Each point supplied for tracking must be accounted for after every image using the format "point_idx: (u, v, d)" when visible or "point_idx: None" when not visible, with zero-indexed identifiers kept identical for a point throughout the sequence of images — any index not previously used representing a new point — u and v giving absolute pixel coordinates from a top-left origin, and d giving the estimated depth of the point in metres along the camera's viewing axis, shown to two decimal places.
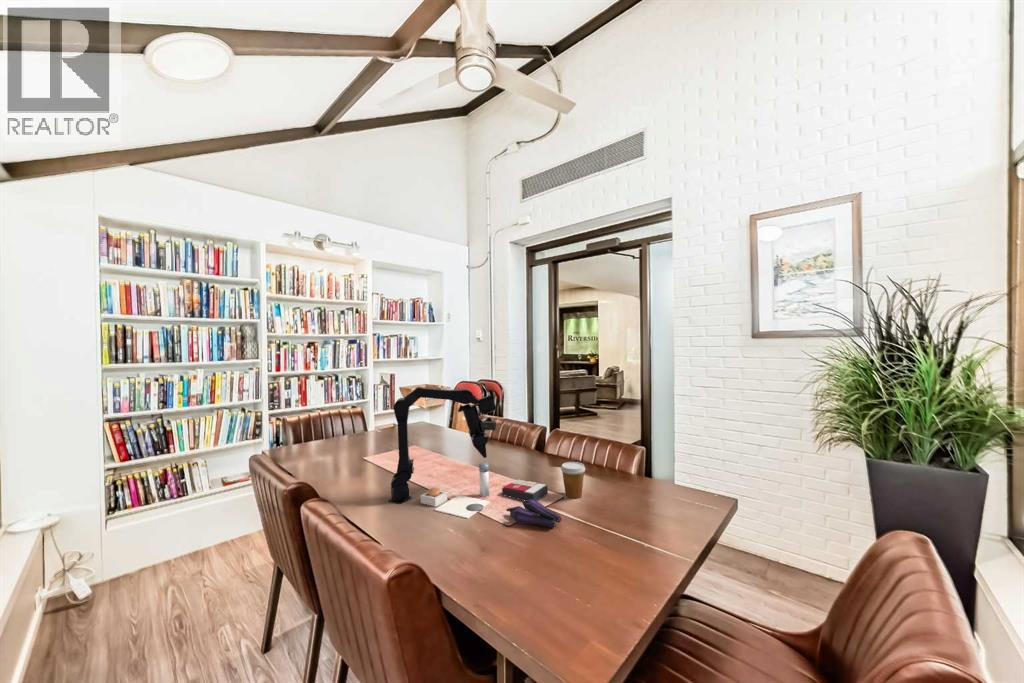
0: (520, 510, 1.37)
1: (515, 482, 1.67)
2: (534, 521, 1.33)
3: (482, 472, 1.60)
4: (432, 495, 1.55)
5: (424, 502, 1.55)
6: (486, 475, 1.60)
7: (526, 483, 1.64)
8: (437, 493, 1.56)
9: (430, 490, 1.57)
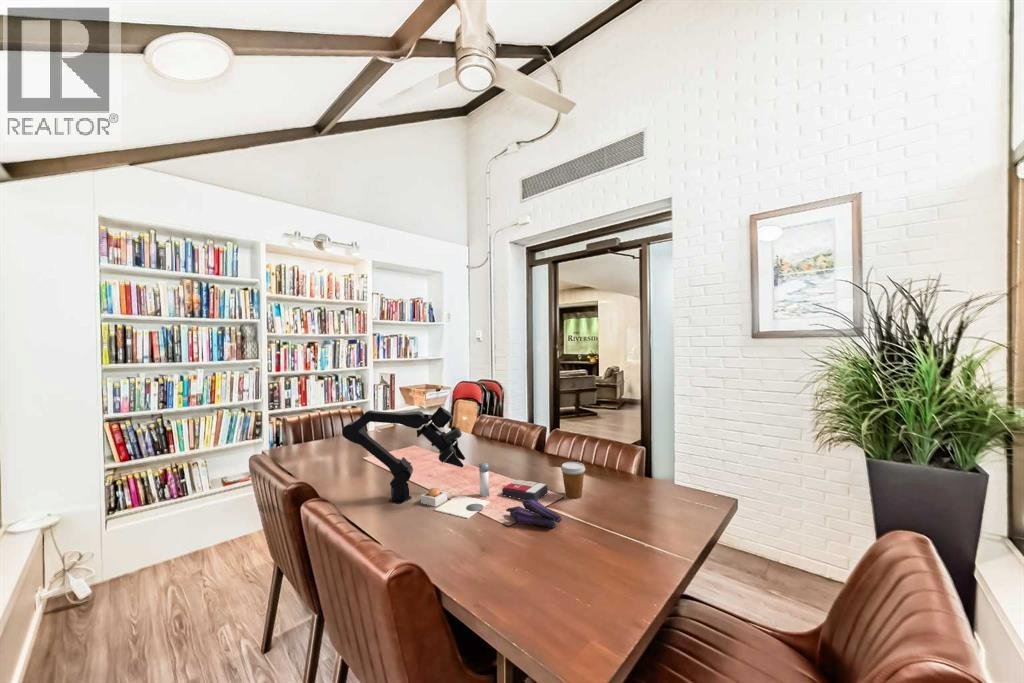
0: (520, 510, 1.37)
1: (515, 482, 1.66)
2: (534, 521, 1.33)
3: (482, 472, 1.60)
4: (432, 495, 1.55)
5: (424, 502, 1.55)
6: (486, 475, 1.60)
7: (526, 483, 1.65)
8: (437, 493, 1.56)
9: (430, 490, 1.57)
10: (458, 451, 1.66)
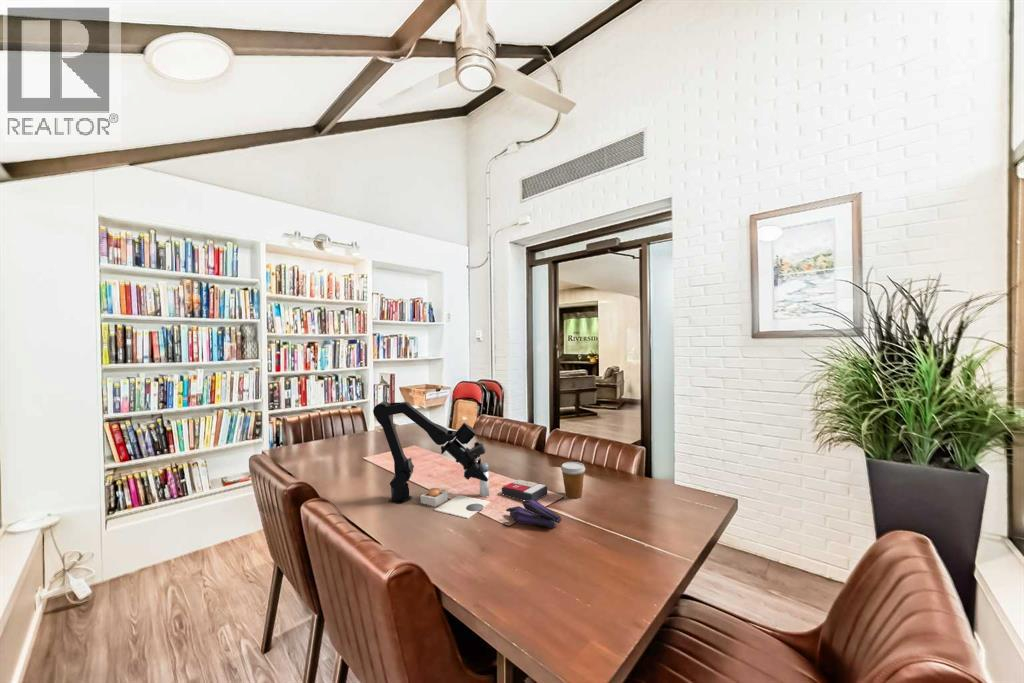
0: (520, 510, 1.37)
1: (515, 482, 1.67)
2: (534, 521, 1.33)
3: None
4: (432, 495, 1.55)
5: (424, 502, 1.55)
6: (486, 475, 1.60)
7: (526, 483, 1.64)
8: (437, 493, 1.56)
9: (430, 490, 1.57)
10: None
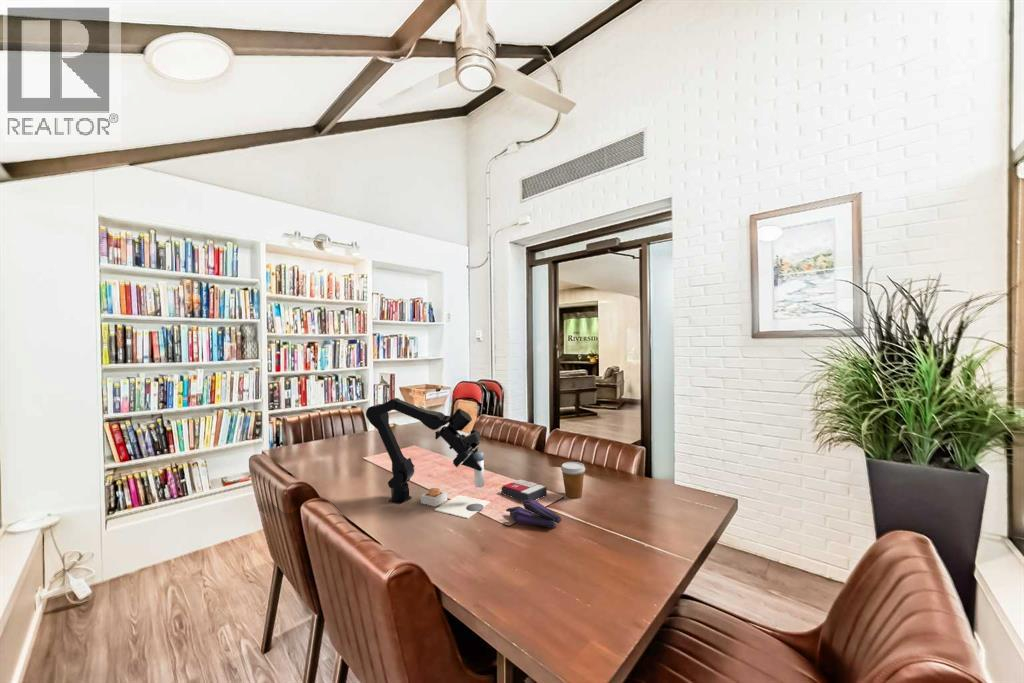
0: (520, 510, 1.37)
1: (516, 482, 1.67)
2: (534, 521, 1.33)
3: None
4: (432, 495, 1.55)
5: (424, 502, 1.55)
6: (480, 464, 1.52)
7: (526, 483, 1.64)
8: (437, 493, 1.56)
9: (430, 490, 1.57)
10: None
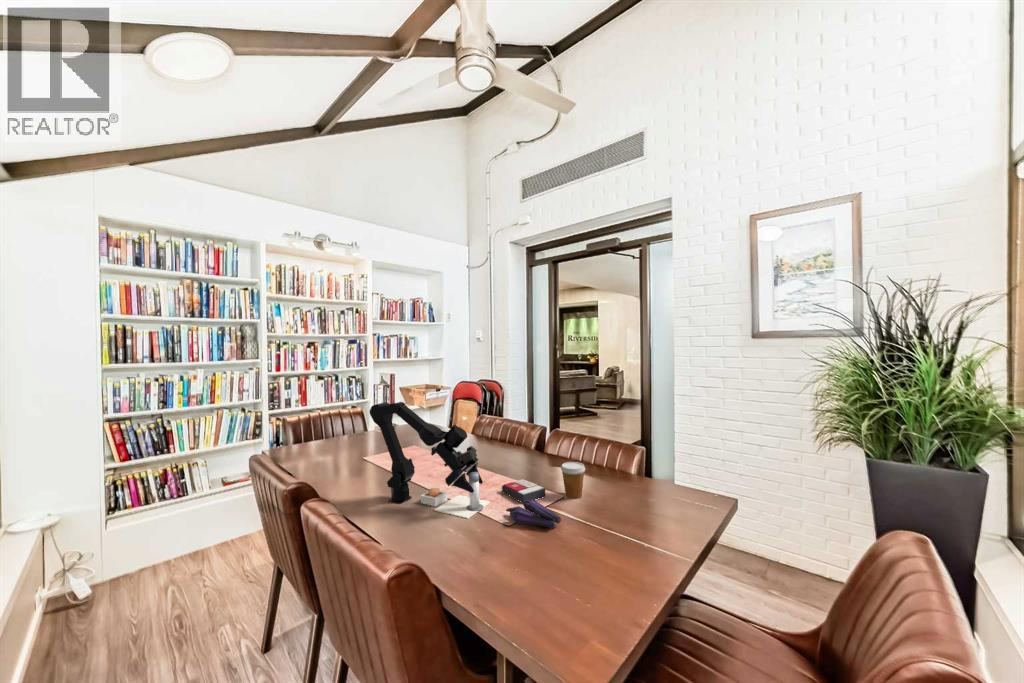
0: (520, 510, 1.37)
1: (518, 481, 1.67)
2: (533, 521, 1.33)
3: (470, 482, 1.48)
4: (432, 495, 1.55)
5: (424, 502, 1.55)
6: (475, 486, 1.48)
7: (526, 484, 1.64)
8: (437, 493, 1.56)
9: (430, 490, 1.57)
10: None
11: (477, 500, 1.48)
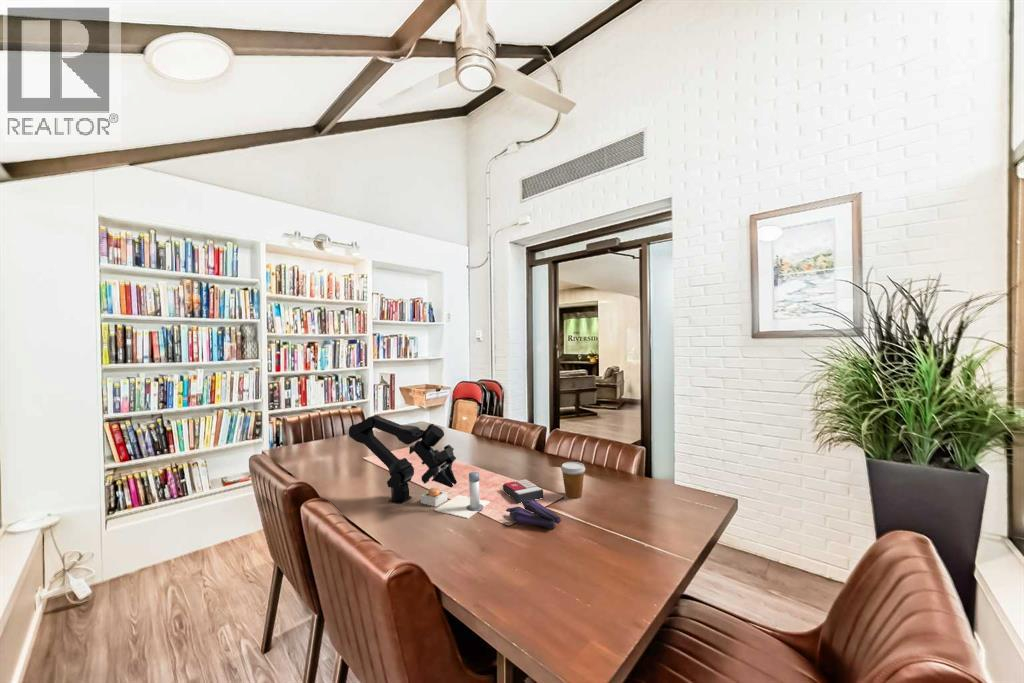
0: (519, 511, 1.36)
1: (519, 481, 1.68)
2: (533, 522, 1.33)
3: (471, 482, 1.48)
4: (432, 495, 1.55)
5: (424, 502, 1.55)
6: (475, 486, 1.48)
7: (526, 484, 1.64)
8: (437, 493, 1.56)
9: (430, 490, 1.57)
10: (450, 474, 1.54)
11: (477, 500, 1.48)
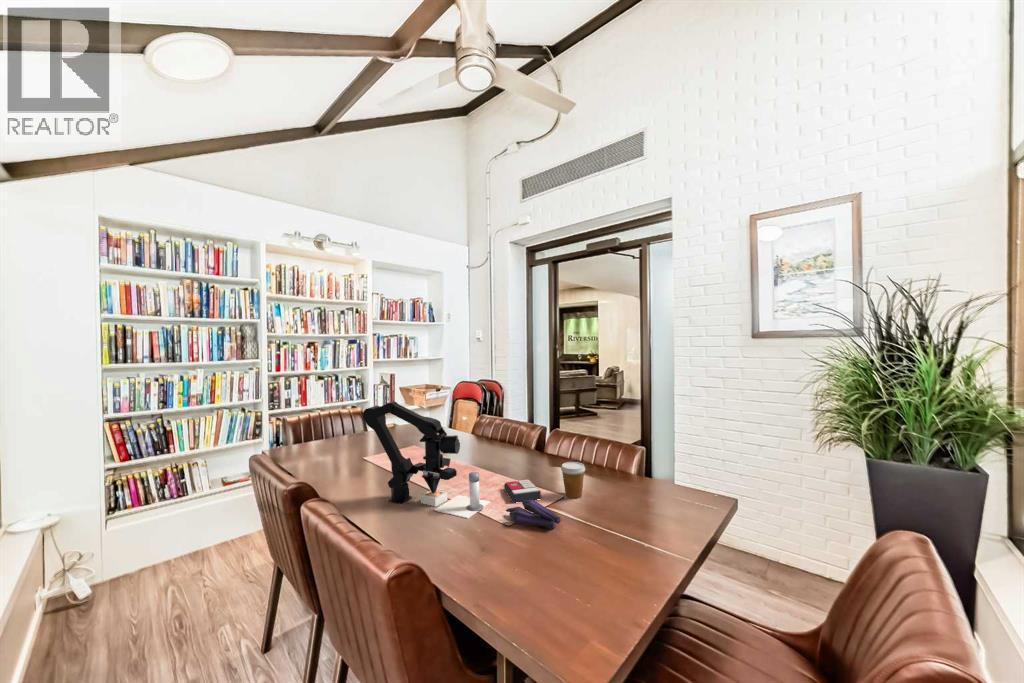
0: (519, 511, 1.36)
1: (521, 481, 1.68)
2: (533, 522, 1.33)
3: (470, 482, 1.48)
4: None
5: (424, 502, 1.55)
6: (475, 486, 1.48)
7: (526, 484, 1.63)
8: None
9: (430, 493, 1.57)
10: None
11: (477, 500, 1.48)
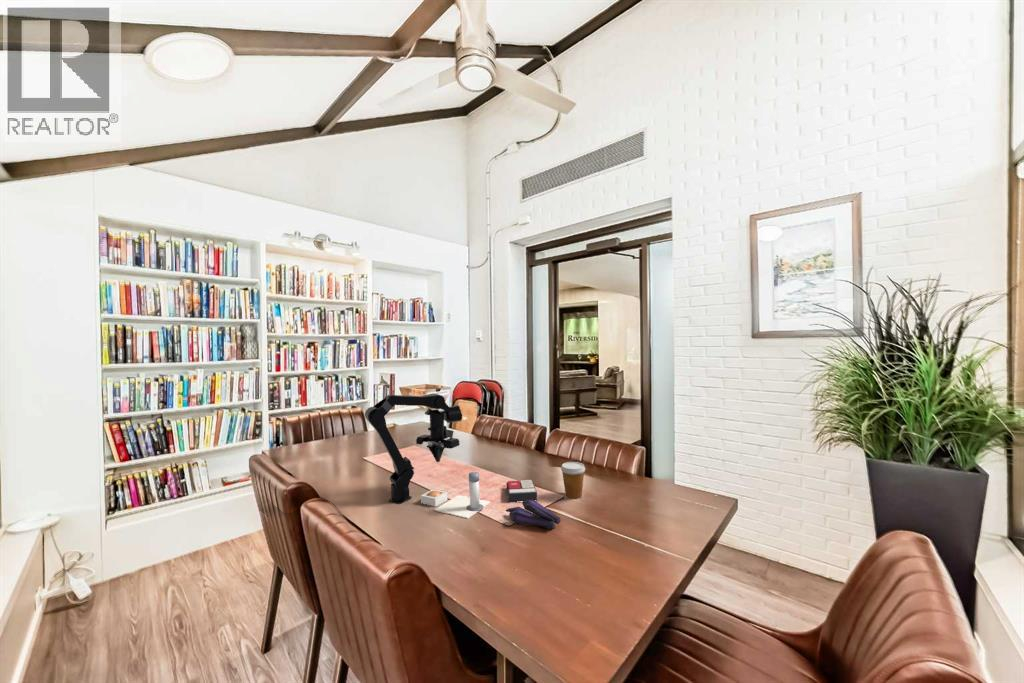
0: (519, 511, 1.36)
1: (523, 481, 1.68)
2: (533, 522, 1.33)
3: (470, 482, 1.48)
4: None
5: (424, 502, 1.55)
6: (475, 486, 1.48)
7: (526, 484, 1.63)
8: None
9: (430, 493, 1.57)
10: None
11: (477, 500, 1.48)
